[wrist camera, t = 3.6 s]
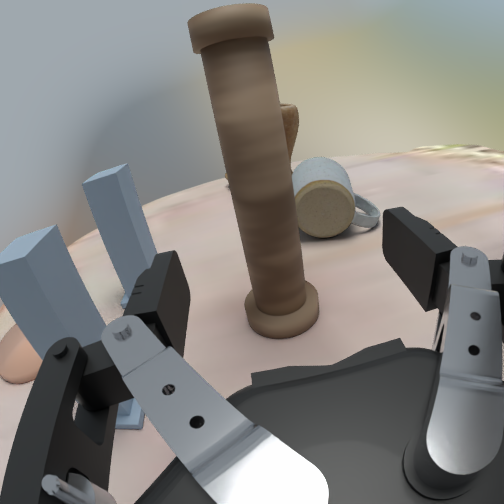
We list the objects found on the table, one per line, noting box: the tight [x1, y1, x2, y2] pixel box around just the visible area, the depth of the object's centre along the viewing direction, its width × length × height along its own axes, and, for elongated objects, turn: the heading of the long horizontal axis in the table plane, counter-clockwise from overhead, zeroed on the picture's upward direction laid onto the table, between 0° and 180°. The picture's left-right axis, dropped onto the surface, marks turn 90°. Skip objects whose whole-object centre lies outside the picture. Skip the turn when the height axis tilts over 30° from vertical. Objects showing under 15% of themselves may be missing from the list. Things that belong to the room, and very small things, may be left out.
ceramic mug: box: [292, 157, 380, 238], centre depth 35 cm, size 11×8×8 cm
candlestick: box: [188, 3, 319, 339], centre depth 20 cm, size 6×6×22 cm
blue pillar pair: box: [0, 164, 158, 429], centre depth 22 cm, size 19×5×13 cm, turn 4°
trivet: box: [0, 324, 43, 384], centre depth 25 cm, size 11×11×1 cm
